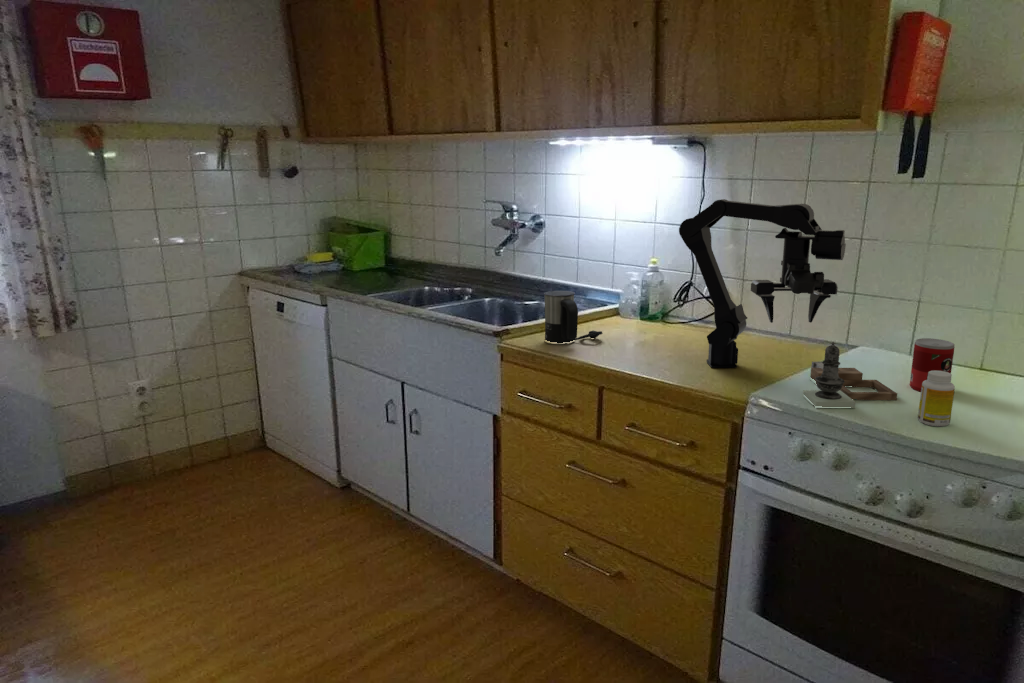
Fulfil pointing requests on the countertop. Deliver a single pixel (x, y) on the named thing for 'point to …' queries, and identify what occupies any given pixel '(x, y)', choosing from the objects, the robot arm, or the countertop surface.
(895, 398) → the brown wooden tray
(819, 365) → the key bar
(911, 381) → the canned food
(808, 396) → the grey square slab
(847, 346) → the countertop surface
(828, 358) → the dark grey tall figure
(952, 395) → the supplement bottle
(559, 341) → the milk frother
